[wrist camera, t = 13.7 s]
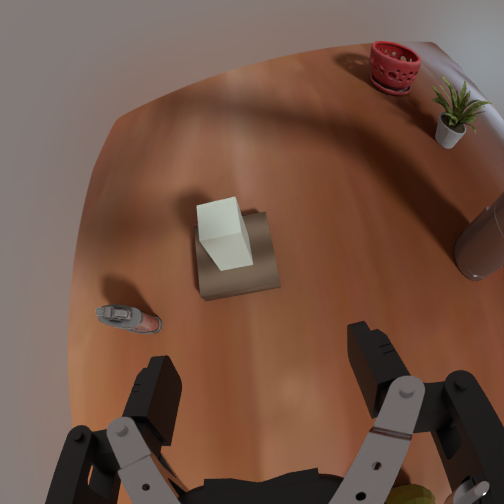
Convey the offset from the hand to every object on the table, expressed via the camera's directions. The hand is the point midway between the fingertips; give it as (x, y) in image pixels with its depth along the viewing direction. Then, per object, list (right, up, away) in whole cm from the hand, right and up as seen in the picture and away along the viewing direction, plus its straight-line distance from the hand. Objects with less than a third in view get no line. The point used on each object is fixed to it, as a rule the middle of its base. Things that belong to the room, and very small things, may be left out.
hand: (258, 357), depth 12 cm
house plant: (+46, +31, +40) cm, 68 cm away
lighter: (-19, -8, +33) cm, 39 cm away
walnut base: (-3, +3, +35) cm, 35 cm away
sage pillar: (-3, +4, +32) cm, 33 cm away
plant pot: (+37, +49, +49) cm, 78 cm away
